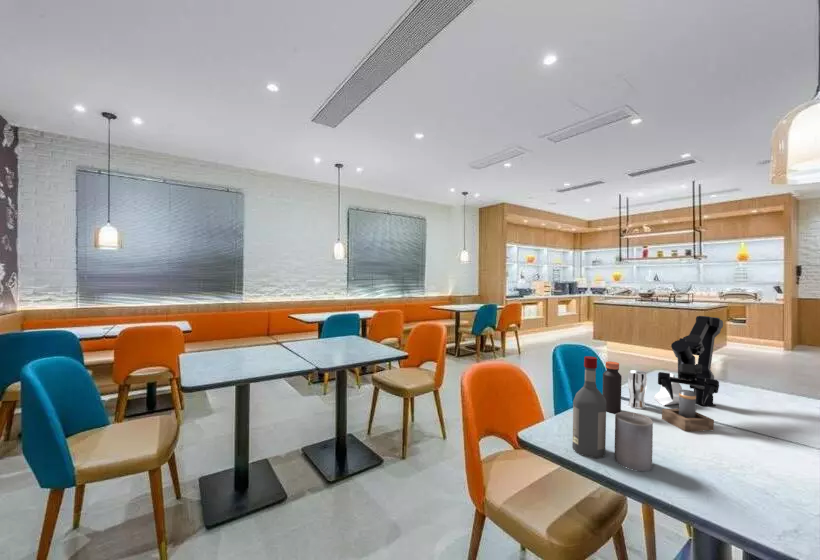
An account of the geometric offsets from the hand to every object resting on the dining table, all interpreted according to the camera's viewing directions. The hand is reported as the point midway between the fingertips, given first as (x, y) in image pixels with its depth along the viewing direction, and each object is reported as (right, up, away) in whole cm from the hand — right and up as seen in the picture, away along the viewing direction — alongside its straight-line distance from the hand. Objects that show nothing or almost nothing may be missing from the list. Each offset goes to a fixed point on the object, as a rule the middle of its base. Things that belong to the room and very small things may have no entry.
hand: (687, 401), depth 135 cm
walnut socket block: (0, -9, 0) cm, 9 cm away
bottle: (-21, -9, +14) cm, 27 cm away
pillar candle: (-38, -9, -28) cm, 48 cm away
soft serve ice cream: (+11, -9, +23) cm, 27 cm away
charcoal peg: (0, -8, 0) cm, 8 cm away
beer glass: (-7, -9, +19) cm, 22 cm away
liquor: (-48, -9, -21) cm, 53 cm away
